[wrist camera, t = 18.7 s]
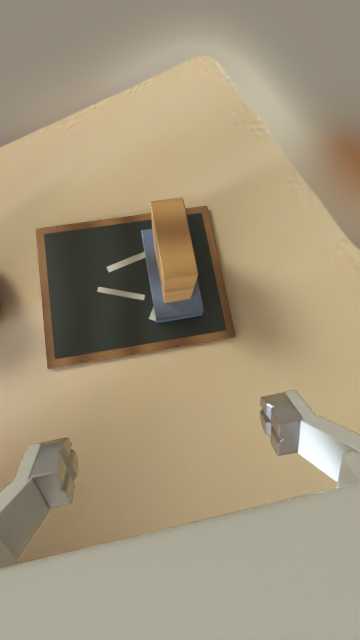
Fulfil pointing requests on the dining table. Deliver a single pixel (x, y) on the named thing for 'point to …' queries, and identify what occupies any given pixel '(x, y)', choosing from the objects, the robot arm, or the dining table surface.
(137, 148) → the dining table surface
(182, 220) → the eraser
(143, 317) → the slate board
